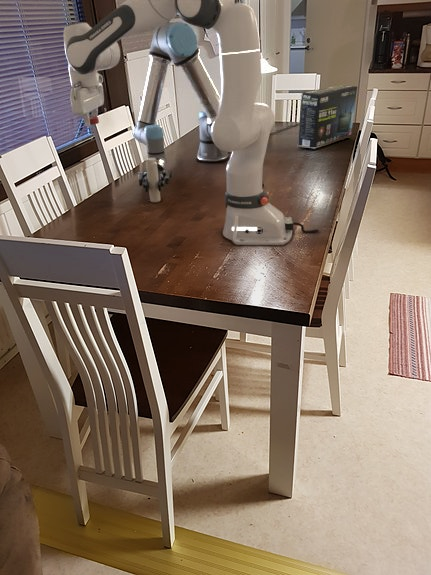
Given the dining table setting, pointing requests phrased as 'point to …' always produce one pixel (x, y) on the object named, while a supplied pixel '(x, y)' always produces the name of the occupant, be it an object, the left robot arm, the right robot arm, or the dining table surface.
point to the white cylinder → (153, 179)
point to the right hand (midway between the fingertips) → (91, 124)
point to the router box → (326, 115)
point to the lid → (93, 120)
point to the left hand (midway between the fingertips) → (152, 188)
